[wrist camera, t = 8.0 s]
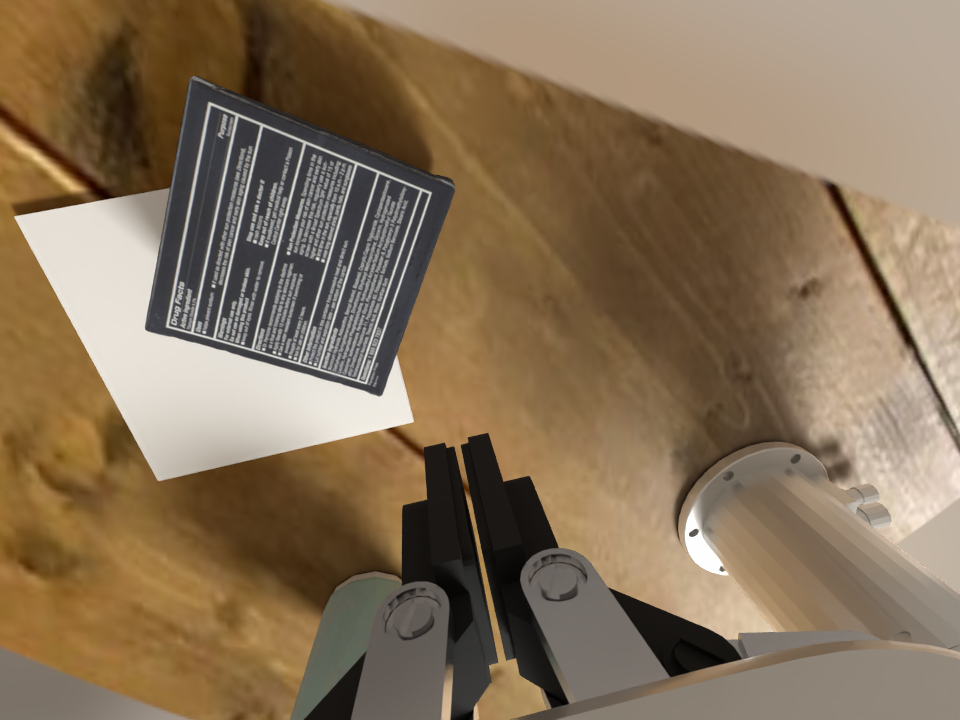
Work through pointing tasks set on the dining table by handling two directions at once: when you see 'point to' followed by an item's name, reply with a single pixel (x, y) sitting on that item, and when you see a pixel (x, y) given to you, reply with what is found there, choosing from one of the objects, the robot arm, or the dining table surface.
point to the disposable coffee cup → (342, 635)
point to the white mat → (184, 352)
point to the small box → (291, 241)
